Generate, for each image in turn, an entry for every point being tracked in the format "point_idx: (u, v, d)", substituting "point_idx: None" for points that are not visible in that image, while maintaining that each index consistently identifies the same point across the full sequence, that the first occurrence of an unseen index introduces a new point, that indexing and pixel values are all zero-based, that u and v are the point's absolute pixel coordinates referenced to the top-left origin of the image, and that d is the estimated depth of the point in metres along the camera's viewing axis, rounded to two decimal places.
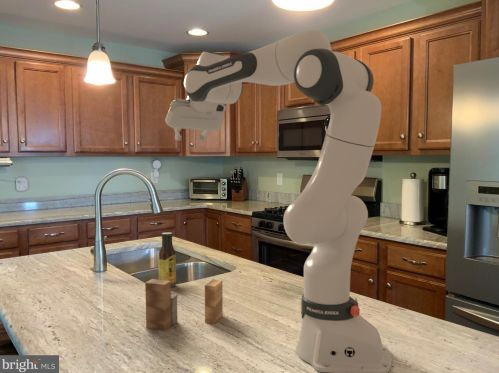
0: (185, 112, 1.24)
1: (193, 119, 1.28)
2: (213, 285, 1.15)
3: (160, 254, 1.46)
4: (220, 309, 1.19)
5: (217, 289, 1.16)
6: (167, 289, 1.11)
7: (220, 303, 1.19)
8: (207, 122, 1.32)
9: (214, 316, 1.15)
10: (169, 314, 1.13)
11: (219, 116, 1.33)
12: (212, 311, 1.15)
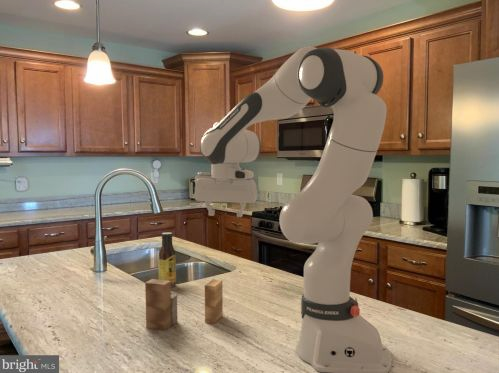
0: (206, 184, 1.26)
1: (217, 191, 1.25)
2: (213, 285, 1.15)
3: (160, 254, 1.46)
4: (220, 309, 1.19)
5: (217, 289, 1.16)
6: (167, 289, 1.11)
7: (220, 303, 1.19)
8: (234, 192, 1.23)
9: (214, 316, 1.15)
10: (169, 314, 1.13)
11: (246, 185, 1.22)
12: (212, 311, 1.15)
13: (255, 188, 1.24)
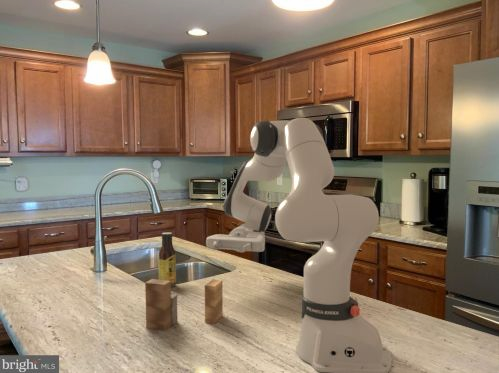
0: (222, 235, 1.40)
1: (230, 237, 1.37)
2: (213, 285, 1.15)
3: (160, 254, 1.46)
4: (220, 309, 1.19)
5: (217, 289, 1.16)
6: (167, 289, 1.11)
7: (220, 303, 1.19)
8: (245, 238, 1.35)
9: (214, 316, 1.15)
10: (169, 314, 1.13)
11: (258, 237, 1.36)
12: (212, 311, 1.15)
13: (264, 245, 1.35)
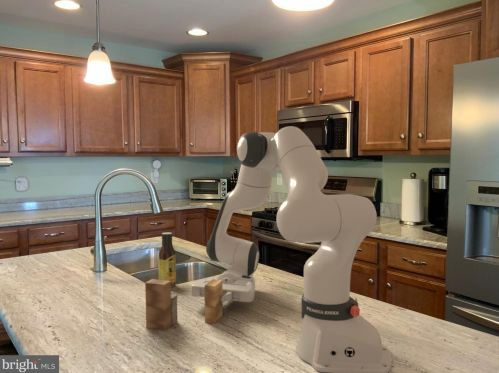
0: (209, 281, 1.29)
1: None
2: (213, 285, 1.15)
3: (160, 254, 1.46)
4: (220, 309, 1.19)
5: (217, 289, 1.16)
6: (167, 289, 1.11)
7: (220, 303, 1.19)
8: (233, 286, 1.24)
9: (214, 316, 1.15)
10: (169, 314, 1.13)
11: (248, 284, 1.25)
12: (212, 311, 1.15)
13: (253, 294, 1.24)
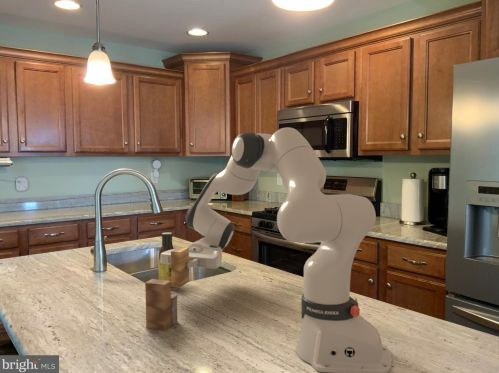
0: None
1: None
2: (178, 251, 1.22)
3: (160, 254, 1.46)
4: (186, 274, 1.26)
5: (182, 255, 1.23)
6: (167, 289, 1.11)
7: (186, 269, 1.26)
8: (200, 254, 1.31)
9: (179, 280, 1.22)
10: (169, 314, 1.13)
11: (214, 253, 1.32)
12: (178, 275, 1.22)
13: (219, 262, 1.31)
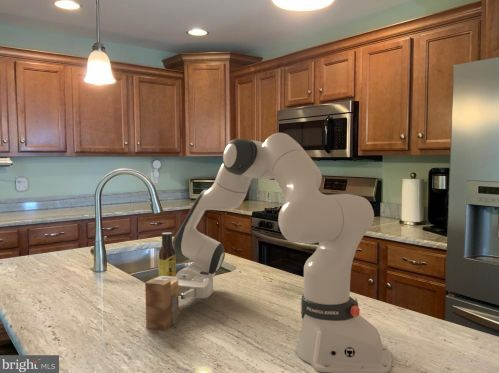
0: (167, 277, 1.29)
1: None
2: None
3: (160, 254, 1.46)
4: None
5: (171, 289, 1.16)
6: (167, 289, 1.11)
7: None
8: (190, 282, 1.24)
9: None
10: (169, 314, 1.13)
11: (205, 280, 1.25)
12: None
13: (210, 290, 1.24)
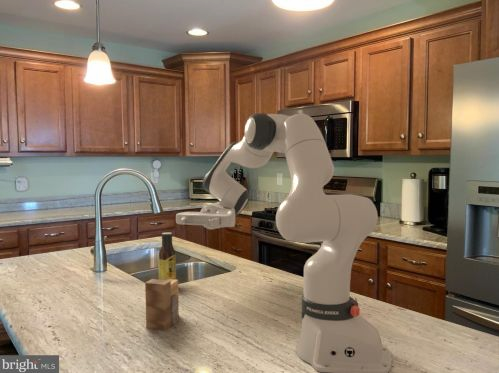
0: (193, 212, 1.40)
1: (200, 213, 1.37)
2: None
3: (160, 254, 1.46)
4: None
5: (171, 289, 1.16)
6: (167, 289, 1.11)
7: None
8: (215, 214, 1.35)
9: None
10: (169, 314, 1.13)
11: (228, 213, 1.36)
12: None
13: (233, 221, 1.35)
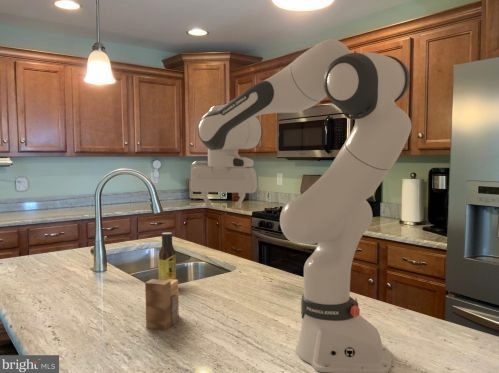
0: (202, 173, 1.17)
1: (214, 180, 1.16)
2: None
3: (160, 254, 1.46)
4: None
5: (171, 289, 1.16)
6: (167, 289, 1.11)
7: None
8: (232, 182, 1.15)
9: None
10: (169, 314, 1.13)
11: (245, 174, 1.13)
12: None
13: (255, 177, 1.15)
